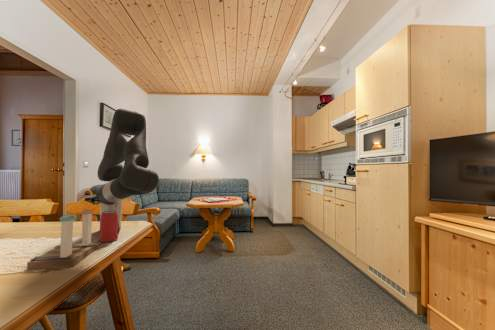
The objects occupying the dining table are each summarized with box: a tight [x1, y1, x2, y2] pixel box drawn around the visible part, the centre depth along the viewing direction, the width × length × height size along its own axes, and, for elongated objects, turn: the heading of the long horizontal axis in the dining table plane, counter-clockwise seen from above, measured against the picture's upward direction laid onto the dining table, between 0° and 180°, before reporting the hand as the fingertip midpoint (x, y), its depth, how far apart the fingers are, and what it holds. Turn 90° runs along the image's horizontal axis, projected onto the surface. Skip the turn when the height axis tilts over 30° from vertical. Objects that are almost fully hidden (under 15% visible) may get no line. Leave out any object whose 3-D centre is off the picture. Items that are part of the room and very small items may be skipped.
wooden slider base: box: [26, 242, 99, 271], centre depth 80 cm, size 18×12×2 cm, turn 11°
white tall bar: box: [80, 209, 94, 246], centre depth 86 cm, size 4×2×12 cm, turn 11°
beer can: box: [99, 211, 119, 243], centre depth 101 cm, size 7×7×12 cm
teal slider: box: [59, 214, 76, 258], centre depth 74 cm, size 4×2×12 cm, turn 11°
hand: (94, 201), depth 90 cm, fingers closed
